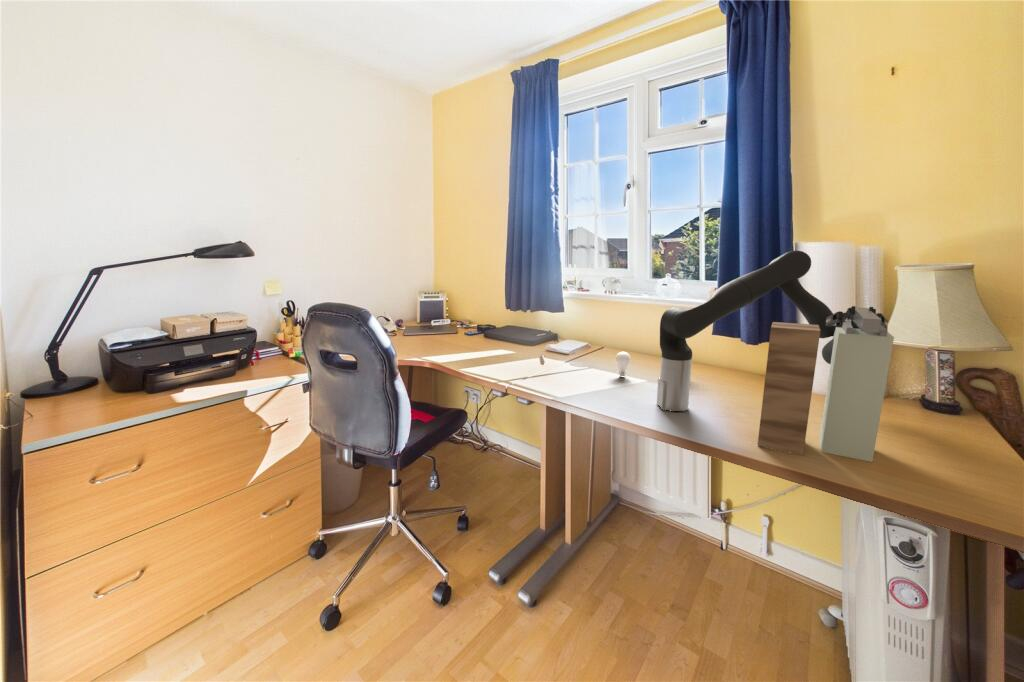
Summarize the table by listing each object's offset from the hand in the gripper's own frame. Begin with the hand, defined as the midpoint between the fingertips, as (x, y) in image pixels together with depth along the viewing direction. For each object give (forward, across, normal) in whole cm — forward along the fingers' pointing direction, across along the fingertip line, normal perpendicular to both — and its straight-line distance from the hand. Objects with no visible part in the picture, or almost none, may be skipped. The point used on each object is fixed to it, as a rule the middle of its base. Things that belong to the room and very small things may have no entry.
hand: (862, 310), depth 106 cm
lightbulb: (-41, -71, +18) cm, 84 cm away
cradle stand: (-12, 0, +34) cm, 36 cm away
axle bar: (+4, 0, +6) cm, 7 cm away
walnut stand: (-8, -14, +36) cm, 40 cm away
